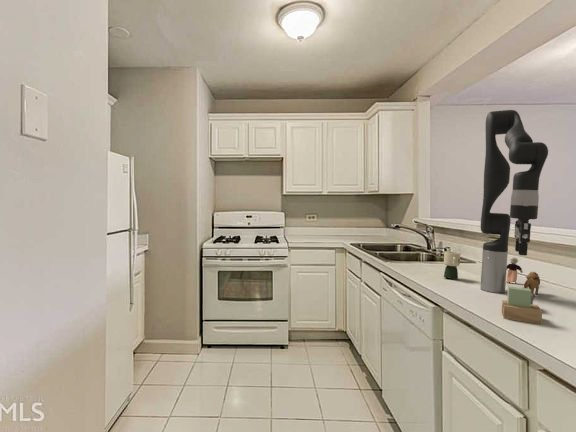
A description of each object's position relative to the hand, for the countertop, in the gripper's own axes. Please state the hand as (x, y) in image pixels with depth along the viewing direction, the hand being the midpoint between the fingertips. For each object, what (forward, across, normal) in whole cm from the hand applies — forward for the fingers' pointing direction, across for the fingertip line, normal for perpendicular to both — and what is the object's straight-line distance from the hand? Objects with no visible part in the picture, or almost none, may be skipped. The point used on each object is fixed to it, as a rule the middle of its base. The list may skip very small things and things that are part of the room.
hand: (520, 253), depth 115 cm
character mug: (+22, -51, -22) cm, 60 cm away
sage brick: (+17, +2, 0) cm, 17 cm away
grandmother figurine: (+22, -59, +5) cm, 63 cm away
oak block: (+21, +2, +1) cm, 21 cm away
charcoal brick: (+21, -13, +4) cm, 25 cm away
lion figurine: (+22, -38, +9) cm, 44 cm away
